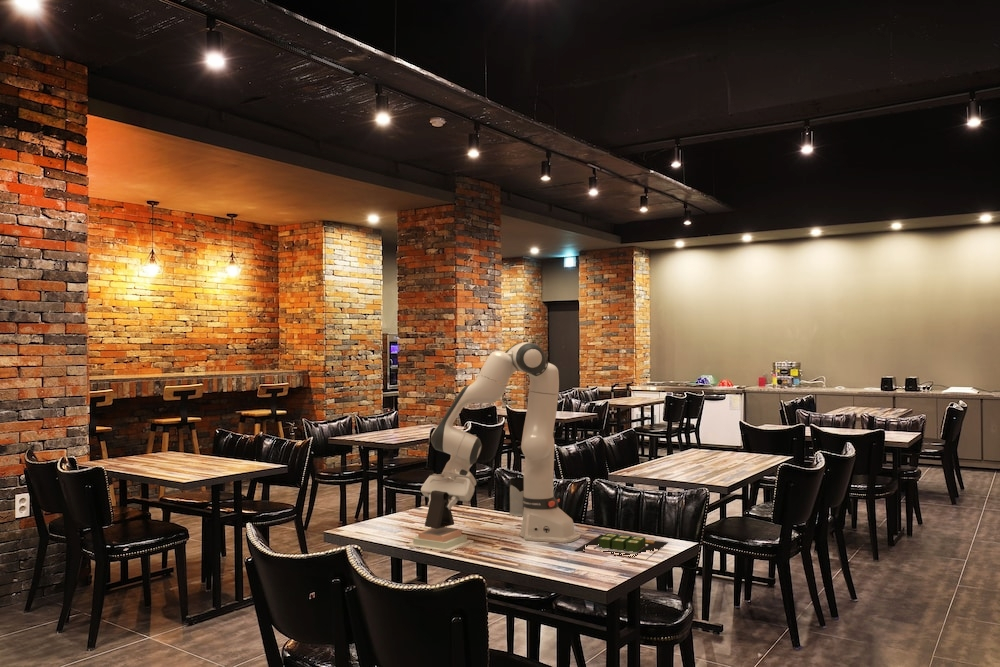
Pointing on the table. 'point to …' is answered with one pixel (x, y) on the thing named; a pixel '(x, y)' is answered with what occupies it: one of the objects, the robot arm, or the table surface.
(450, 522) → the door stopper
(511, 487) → the glass holder
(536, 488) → the robot arm
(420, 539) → the base
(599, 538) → the sushi
